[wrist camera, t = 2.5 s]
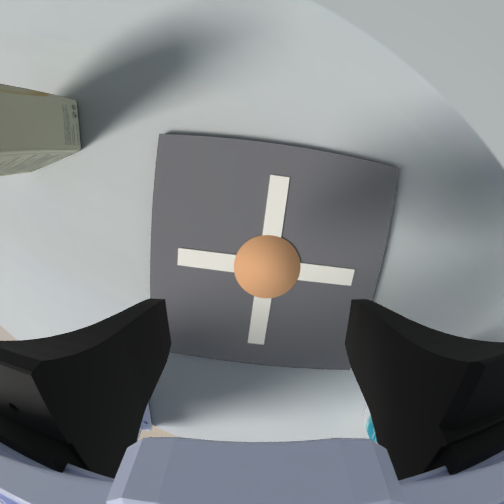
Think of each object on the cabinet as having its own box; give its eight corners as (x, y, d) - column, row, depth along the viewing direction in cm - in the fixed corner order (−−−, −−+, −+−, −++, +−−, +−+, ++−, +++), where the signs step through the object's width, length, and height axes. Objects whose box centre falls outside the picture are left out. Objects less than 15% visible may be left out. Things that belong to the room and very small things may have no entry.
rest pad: (347, 365, 22) (349, 370, 22) (154, 344, 22) (151, 349, 22) (395, 167, 18) (400, 168, 17) (162, 134, 18) (158, 133, 17)
